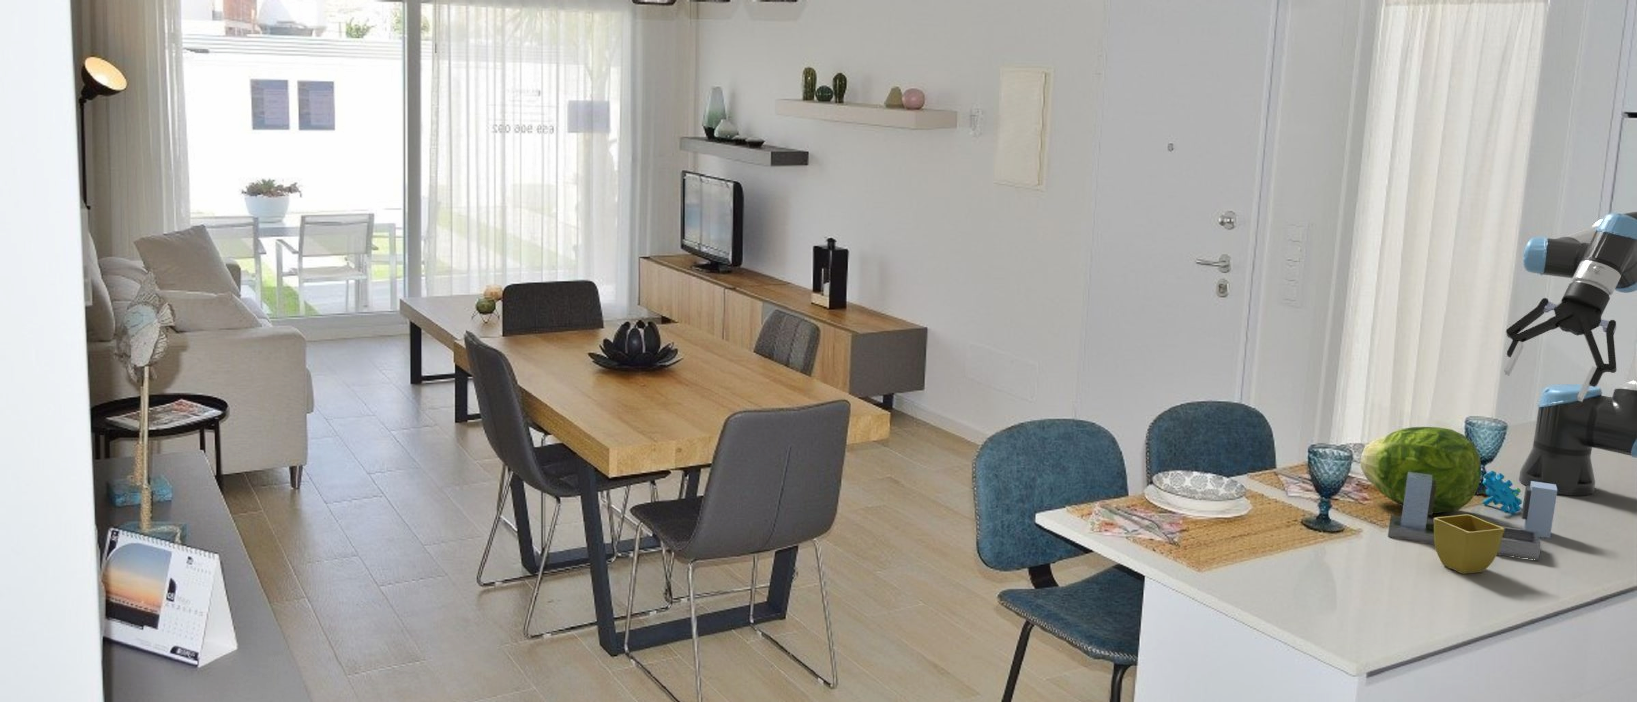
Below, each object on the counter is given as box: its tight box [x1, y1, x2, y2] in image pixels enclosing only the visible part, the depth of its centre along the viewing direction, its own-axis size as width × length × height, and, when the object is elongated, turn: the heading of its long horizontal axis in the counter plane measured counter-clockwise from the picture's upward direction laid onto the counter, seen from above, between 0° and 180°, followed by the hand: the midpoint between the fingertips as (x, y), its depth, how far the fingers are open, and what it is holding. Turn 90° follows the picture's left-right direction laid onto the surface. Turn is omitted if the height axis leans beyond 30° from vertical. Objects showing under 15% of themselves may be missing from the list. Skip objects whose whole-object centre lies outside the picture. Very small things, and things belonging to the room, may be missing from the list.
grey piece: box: [1387, 472, 1542, 561], centre depth 273 cm, size 9×27×12 cm, turn 66°
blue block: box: [1521, 481, 1558, 539], centre depth 281 cm, size 4×5×10 cm
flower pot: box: [1433, 513, 1505, 575], centre depth 259 cm, size 9×9×9 cm
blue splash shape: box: [1482, 470, 1523, 515], centre depth 298 cm, size 11×6×10 cm
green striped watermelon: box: [1359, 426, 1482, 514], centre depth 293 cm, size 19×23×18 cm
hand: (1542, 386), depth 270 cm, fingers open, 13 cm apart
